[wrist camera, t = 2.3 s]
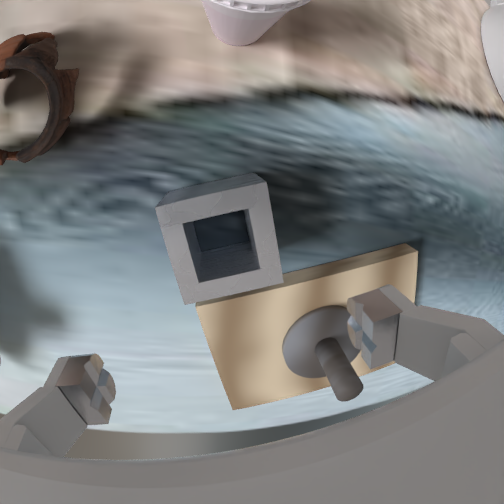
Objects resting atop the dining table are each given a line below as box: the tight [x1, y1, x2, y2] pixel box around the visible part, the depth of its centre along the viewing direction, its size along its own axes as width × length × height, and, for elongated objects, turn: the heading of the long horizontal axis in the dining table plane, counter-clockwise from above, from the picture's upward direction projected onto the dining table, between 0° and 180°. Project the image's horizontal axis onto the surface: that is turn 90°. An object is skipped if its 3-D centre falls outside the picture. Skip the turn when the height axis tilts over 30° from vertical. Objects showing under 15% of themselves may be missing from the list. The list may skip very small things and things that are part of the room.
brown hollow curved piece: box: [0, 32, 79, 165], centre depth 13 cm, size 12×10×8 cm
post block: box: [196, 243, 418, 410], centre depth 22 cm, size 18×12×8 cm, turn 101°
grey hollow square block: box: [155, 172, 284, 305], centre depth 19 cm, size 6×6×5 cm
